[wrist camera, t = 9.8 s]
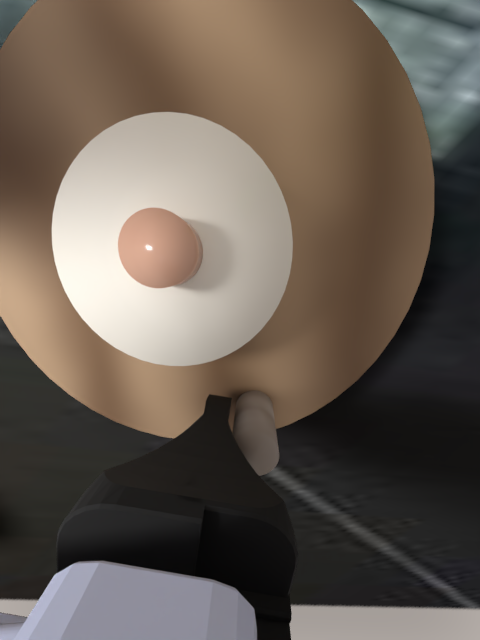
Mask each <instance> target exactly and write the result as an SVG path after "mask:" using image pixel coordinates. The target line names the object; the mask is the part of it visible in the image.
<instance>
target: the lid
mask: <svg viewBox="0 0 480 640" xmlns="http://www.w3.org/2000/svg"><path fill="white" fill-rule="evenodd" d="M52 247H53V254H54V260H55V264H56V268H57V271H58V275H59V278H60V280H61V283H62V285H63V288H64V290H65V292H66V294H67V296H68V298H69V300H70V301H71V303H72V305H73V306H74V308H75V309H76V311H77V312H78V313H79V315H80V316H81V318H82V319H83V320H84V321H85V322H86V323H87V324H88V326H89V327H90V328H91V329H92V330H93V331H94V332H95V333H97V334H98V335H99V336H100V337H101V338H102V339H103V340H105V341H106V342H108V343H109V344H111V345H112V346H113V347H115V348H116V349H118V350H120V351H122V352H124V353H126V354H128V355H130V356H132V357H135V358H137V359H140V360H143V361H146V362H150V363H154V364H160V365H167V366H190V365H198V364H203V363H207V362H211V361H214V360H216V359H219V358H222V357H224V356H226V355H228V354H230V353H232V352H234V351H236V350H237V349H239V348H240V347H242V346H243V345H244V344H246V343H247V342H249V341H250V340H251V339H252V338H253V337H254V336H255V335H256V334H257V333H258V332H259V331H260V330H261V329H262V328H263V327H264V326H265V324H266V323H267V322H268V321H269V319H270V318H271V317H272V315H273V313H274V312H275V310H276V308H277V307H278V305H279V303H280V301H281V298H282V296H283V294H284V292H285V289H286V285H287V282H288V279H289V275H290V269H291V263H292V251H293V238H292V228H291V221H290V217H289V213H288V208H287V205H286V202H285V200H284V197H283V194H282V191H281V189H280V187H279V185H278V183H277V182H276V180H275V178H274V176H273V174H272V173H271V171H270V170H269V168H268V167H267V165H266V164H265V163H264V161H263V160H262V159H261V158H260V156H259V155H258V154H257V153H256V152H255V151H254V150H253V149H252V148H251V147H250V146H249V145H248V144H247V143H245V142H244V141H243V140H242V139H241V138H239V137H238V136H237V135H236V134H234V133H232V132H231V131H229V130H227V129H226V128H224V127H223V126H221V125H219V124H216V123H214V122H212V121H209V120H207V119H205V118H201V117H198V116H194V115H190V114H185V113H176V112H154V113H148V114H143V115H138V116H134V117H131V118H128V119H126V120H123V121H120V122H118V123H116V124H114V125H113V126H111V127H109V128H107V129H105V130H104V131H103V132H101V133H100V134H99V135H97V136H96V137H95V138H94V139H92V140H91V141H90V142H89V143H88V144H87V145H86V146H85V147H84V148H83V149H82V150H81V151H80V152H79V154H78V155H77V157H76V158H75V159H74V161H73V162H72V164H71V165H70V167H69V169H68V170H67V172H66V174H65V176H64V178H63V180H62V183H61V185H60V188H59V191H58V194H57V196H56V201H55V206H54V210H53V218H52Z"/></svg>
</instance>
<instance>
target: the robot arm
mask: <svg viewBox="0 0 480 640" xmlns="http://www.w3.org/2000/svg"><path fill="white" fill-rule="evenodd" d="M231 401H232V398H230V397H224V396H217V395H211V394H209V396H208V397H207V400H206V404H205V409H204V413H203V415H202V416H201V417H200V418H199V419H198V420H196V421H195V422H194V423H193V424H192V425H191V426H190V427H189V428H188V429H186V430H185V431H184V432H183V433H181V434H180V435H179V436H177V437H176V438H174V439H173V440H171V441H170V442H168V443H167V444H165V445H163V446H162V447H160V448H158V449H156V450H154V451H152V452H150V453H148V454H146V455H144V456H142V457H140V458H137V459H135V460H133V461H130V462H127V463H124V464H122V465H119V466H116V467H113V468H110V469H107V470H104V471H103V472H102V473H101V474H100V475H99V476H98V478H97V479H96V480H95V481H94V482H93V483H92V484H91V485H90V486H89V487H88V489H87V490H86V491H85V492H84V493H83V495H82V496H81V497H80V499H79V500H78V502H77V503H76V504H75V506H74V507H73V508H72V510H71V511H70V512H69V514H68V515H67V516H66V518H65V519H64V521H63V523H62V524H61V526H60V528H59V530H58V536H57V574H55V575H54V577H53V578H52V580H51V582H50V583H49V585H48V586H47V588H46V589H45V591H44V593H43V594H42V596H41V597H40V599H39V600H38V602H37V604H36V605H35V607H34V608H33V610H32V612H31V613H30V615H29V616H28V617H24V616H18V615H12V614H5V613H1V612H0V640H291V636H290V626H289V623H290V621H291V605H290V597H289V594H290V591H291V587H292V583H293V579H294V575H295V572H296V568H297V561H298V551H297V544H296V539H295V535H294V531H293V527H292V524H291V520H290V517H289V514H288V511H287V508H286V505H285V503H284V501H283V500H282V499H281V498H280V497H279V496H278V495H277V494H276V493H275V492H274V491H273V490H272V489H271V488H270V487H269V486H268V485H267V484H266V483H265V482H264V481H263V480H262V479H261V478H260V477H259V475H258V474H257V473H256V472H255V470H254V469H253V468H252V466H251V465H250V464H249V462H248V461H247V459H246V458H245V456H244V454H243V453H242V451H241V449H240V448H239V446H238V444H237V442H236V440H235V438H234V435H233V433H232V431H231V428H230V425H229V422H228V420H229V414H230V407H231Z"/></svg>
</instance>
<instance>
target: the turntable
mask: <svg viewBox="0 0 480 640" xmlns="http://www.w3.org/2000/svg"><path fill="white" fill-rule="evenodd" d="M154 112H176V113H185V114H190V115H194V116H198V117H201V118H205V119H207V120H209V121H212V122H214V123H216V124H219V125H221V126H223V127H224V128H226V129H227V130H229V131H231V132H232V133H234V134H236V135H237V136H238V137H239V138H241V139H242V140H243V141H244V142H245V143H247V144H248V145H249V146H250V147H251V148H252V149H253V150H254V151H255V152H256V153H257V154H258V155H259V156H260V158H261V159H262V160H263V161H264V163H265V164H266V165H267V167H268V168H269V170H270V171H271V173H272V174H273V176H274V178H275V180H276V182H277V183H278V185H279V187H280V189H281V191H282V194H283V197H284V200H285V202H286V205H287V208H288V213H289V217H290V221H291V228H292V238H293V251H292V263H291V269H290V275H289V279H288V282H287V285H286V289H285V292H284V294H283V296H282V298H281V301H280V303H279V305H278V307H277V308H276V310H275V312H274V313H273V315H272V317H271V318H270V319H269V321H268V322H267V323H266V324H265V326H264V327H263V328H262V329H261V330H260V331H259V332H258V333H257V334H256V335H255V336H254V337H253V338H252V339H251V340H250V341H249V342H247V343H246V344H244V345H243V346H242V347H240V348H239V349H237V350H236V351H234V352H232V353H230V354H228V355H226V356H224V357H222V358H219V359H216V360H214V361H211V362H207V363H203V364H198V365H190V366H167V365H160V364H154V363H150V362H146V361H143V360H140V359H137V358H135V357H132V356H130V355H128V354H126V353H124V352H122V351H120V350H118V349H116V348H115V347H113V346H112V345H111V344H109V343H108V342H106V341H105V340H103V339H102V338H101V337H100V336H99V335H98V334H97V333H95V332H94V331H93V330H92V329H91V328H90V327H89V326H88V324H87V323H86V322H85V321H84V320H83V319H82V318H81V316H80V315H79V313H78V312H77V311H76V309H75V308H74V306H73V305H72V303H71V301H70V300H69V298H68V296H67V294H66V292H65V290H64V288H63V285H62V283H61V280H60V278H59V275H58V271H57V268H56V264H55V260H54V254H53V247H52V218H53V210H54V206H55V201H56V196H57V194H58V191H59V188H60V185H61V183H62V180H63V178H64V176H65V174H66V172H67V170H68V169H69V167H70V165H71V164H72V162H73V161H74V159H75V158H76V157H77V155H78V154H79V152H80V151H81V150H82V149H83V148H84V147H85V146H86V145H87V144H88V143H89V142H90V141H91V140H92V139H94V138H95V137H96V136H97V135H99V134H100V133H101V132H103V131H104V130H105V129H107V128H109V127H111V126H113V125H114V124H116V123H118V122H120V121H123V120H126V119H128V118H131V117H134V116H138V115H143V114H148V113H154ZM433 219H434V172H433V164H432V156H431V148H430V142H429V138H428V134H427V130H426V126H425V123H424V119H423V115H422V111H421V107H420V105H419V103H418V100H417V98H416V95H415V93H414V90H413V88H412V86H411V83H410V81H409V78H408V76H407V74H406V72H405V70H404V68H403V67H402V65H401V63H400V62H399V60H398V58H397V56H396V55H395V53H394V51H393V50H392V48H391V46H390V45H389V43H388V41H387V40H386V38H385V37H384V36H383V35H382V33H381V32H380V31H379V30H378V28H377V27H376V26H375V25H374V24H373V22H372V21H371V20H370V19H369V17H368V16H367V15H366V14H365V12H364V11H363V10H362V9H361V8H360V7H359V6H358V5H357V4H355V3H354V2H353V1H352V0H38V1H37V2H36V3H35V4H34V5H32V6H31V8H30V9H29V10H28V11H27V13H26V14H25V15H24V16H23V18H22V19H21V20H20V21H19V23H18V24H17V25H16V26H15V28H14V29H13V30H12V31H11V33H10V34H9V36H8V37H7V39H6V41H5V42H4V44H3V46H2V47H1V49H0V316H1V317H2V319H3V321H4V322H5V324H6V325H7V327H8V329H9V330H10V332H11V334H12V335H13V337H14V338H15V339H16V340H17V342H18V343H19V344H20V346H21V347H22V348H23V349H24V351H25V352H26V353H27V355H28V356H29V357H30V358H31V359H32V360H33V361H34V363H35V364H36V365H37V366H38V367H39V368H40V369H41V370H42V371H43V372H44V373H45V374H46V375H47V376H48V377H49V378H50V379H51V380H53V381H54V382H55V383H56V384H57V385H59V386H60V387H61V388H62V389H63V390H64V391H66V392H67V393H68V394H69V395H71V396H72V397H74V398H75V399H77V400H78V401H80V402H81V403H83V404H84V405H86V406H87V407H89V408H90V409H92V410H94V411H96V412H98V413H100V414H102V415H103V416H105V417H107V418H109V419H111V420H113V421H115V422H118V423H120V424H123V425H126V426H128V427H131V428H134V429H136V430H139V431H143V432H147V433H150V434H154V435H158V436H162V437H168V438H176V437H177V436H179V435H180V434H181V433H183V432H184V431H185V430H186V429H188V428H189V427H190V426H191V425H192V424H193V423H194V422H195V421H196V420H198V419H199V418H200V417H201V416H202V415H203V413H204V409H205V404H206V400H207V397H208V396H209V394H211V395H217V396H224V397H230V398H232V401H231V407H230V414H229V420H228V422H229V425H230V428H231V431H232V433H233V435H234V438H235V440H236V442H237V444H238V446H239V448H240V449H241V451H242V453H243V454H244V456H245V458H246V459H247V461H248V462H249V464H250V465H251V466H252V468H253V469H254V470H255V472H256V473H257V474H258V475H259V476H260V475H264V474H267V473H269V472H270V471H271V470H273V469H274V468H275V466H276V465H277V463H278V460H279V449H278V442H277V434H276V429H278V428H281V427H284V426H286V425H289V424H291V423H293V422H295V421H297V420H299V419H302V418H304V417H306V416H308V415H310V414H312V413H314V412H315V411H317V410H318V409H320V408H321V407H323V406H325V405H326V404H328V403H329V402H331V401H332V400H334V399H335V398H337V397H338V396H339V395H340V394H341V393H343V392H344V391H345V390H346V389H347V388H349V387H350V386H351V385H352V384H353V383H355V382H356V381H357V380H358V379H359V378H360V377H361V376H362V375H363V374H364V373H365V371H366V370H367V369H368V368H369V367H370V366H371V365H372V364H373V363H374V362H375V361H376V360H377V358H378V357H379V356H380V354H381V353H382V352H383V350H384V349H385V348H386V346H387V345H388V343H389V342H390V341H391V339H392V338H393V337H394V335H395V333H396V332H397V330H398V328H399V326H400V324H401V323H402V321H403V319H404V317H405V315H406V314H407V312H408V310H409V308H410V306H411V303H412V301H413V298H414V296H415V293H416V291H417V288H418V286H419V283H420V281H421V278H422V274H423V270H424V267H425V263H426V259H427V255H428V252H429V248H430V240H431V233H432V226H433Z"/></svg>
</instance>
